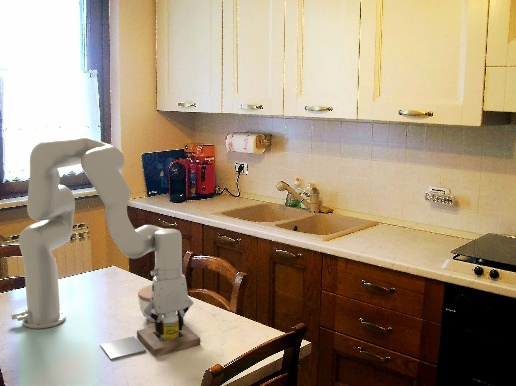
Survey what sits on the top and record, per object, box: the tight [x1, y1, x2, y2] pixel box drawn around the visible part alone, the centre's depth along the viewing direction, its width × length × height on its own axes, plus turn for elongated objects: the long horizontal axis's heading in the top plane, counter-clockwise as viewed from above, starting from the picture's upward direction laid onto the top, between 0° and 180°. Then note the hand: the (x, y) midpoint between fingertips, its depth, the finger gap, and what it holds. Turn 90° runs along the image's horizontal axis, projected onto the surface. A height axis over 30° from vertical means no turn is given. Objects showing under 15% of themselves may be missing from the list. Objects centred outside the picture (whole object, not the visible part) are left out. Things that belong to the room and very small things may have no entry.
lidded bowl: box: [137, 284, 155, 323], centre depth 181 cm, size 13×13×11 cm
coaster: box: [99, 336, 147, 362], centre depth 161 cm, size 10×10×1 cm
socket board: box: [136, 322, 201, 357], centre depth 166 cm, size 14×14×2 cm
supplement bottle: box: [159, 311, 179, 342], centre depth 165 cm, size 5×5×10 cm
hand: (169, 330), depth 166 cm, fingers closed on supplement bottle, 5 cm apart
